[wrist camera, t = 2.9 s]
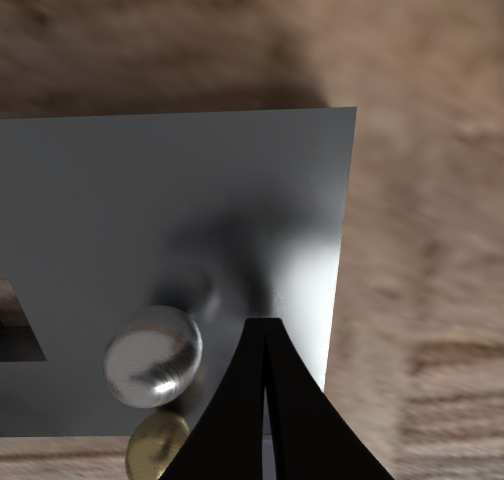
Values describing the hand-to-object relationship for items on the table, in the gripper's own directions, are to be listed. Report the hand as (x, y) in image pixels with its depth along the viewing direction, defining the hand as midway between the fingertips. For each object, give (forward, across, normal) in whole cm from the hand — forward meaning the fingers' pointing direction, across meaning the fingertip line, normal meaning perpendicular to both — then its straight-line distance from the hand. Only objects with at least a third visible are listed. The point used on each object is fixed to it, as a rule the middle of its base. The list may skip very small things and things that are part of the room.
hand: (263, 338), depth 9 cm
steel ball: (-1, +4, 0) cm, 4 cm away
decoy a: (0, +5, +6) cm, 8 cm away
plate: (+3, +8, 0) cm, 9 cm away
